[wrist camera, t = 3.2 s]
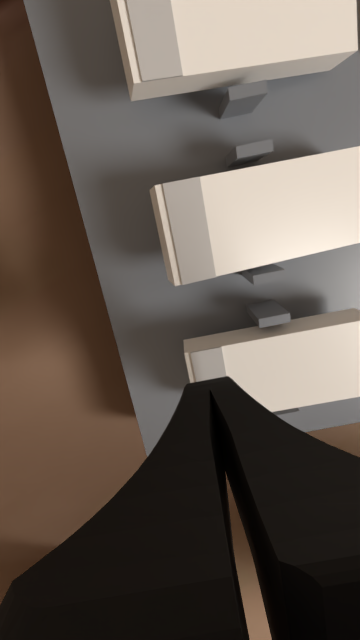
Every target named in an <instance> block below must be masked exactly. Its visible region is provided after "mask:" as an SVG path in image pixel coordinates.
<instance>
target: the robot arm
mask: <svg viewBox="0 0 360 640" xmlns="http://www.w3.org/2000/svg"><path fill="white" fill-rule="evenodd" d="M225 471H226V474H227V477H228V480H229V484H230V487H231V490H232V493H233V496H234V499H235V502H236V505H237V508H238V512H239V515H240V518H241V521H242V524H243V527H244V530H245V533H246V536H247V540H248V543H249V546H250V549H251V553H252V557H253V560H254V564H255V568H256V572H257V576H258V581H259V585H260V589H261V594H262V598H263V602H264V607H265V611H266V615H267V620H268V624H269V628H270V633H271V637H272V640H360V458H359V457H357V456H354V455H352V454H350V453H347V452H345V451H343V450H340V449H338V448H335V447H333V446H331V445H329V444H326V443H324V442H322V441H320V440H318V439H316V438H314V437H312V436H310V435H308V434H307V433H305V432H303V431H301V430H299V429H297V428H295V427H294V426H292V425H290V424H289V423H287V422H285V421H284V420H282V419H281V418H279V417H278V416H276V415H275V414H273V413H272V412H271V411H269V410H268V409H267V408H265V407H264V406H263V405H261V404H260V403H259V402H257V401H256V400H255V399H254V398H252V397H251V396H250V395H249V394H248V393H247V392H245V391H244V390H243V389H242V388H241V387H240V386H239V385H238V384H237V383H236V382H235V381H234V380H233V379H232V378H230V377H229V376H225V377H220V378H214V379H209V380H204V381H199V382H193V383H188V384H186V386H185V387H184V390H183V393H182V396H181V398H180V401H179V403H178V405H177V407H176V410H175V412H174V414H173V416H172V418H171V420H170V422H169V423H168V425H167V427H166V429H165V430H164V432H163V434H162V435H161V437H160V439H159V440H158V442H157V444H156V445H155V447H154V448H153V450H152V451H151V453H150V454H149V456H148V457H147V458H146V460H145V461H144V462H143V464H142V465H141V466H140V468H139V469H138V470H137V471H136V473H135V474H134V475H133V476H132V477H131V478H130V479H129V481H128V482H127V483H126V484H125V485H124V486H123V487H122V488H121V489H120V490H119V491H118V492H117V494H116V495H115V496H114V497H113V498H112V499H111V500H110V501H109V502H108V503H107V504H106V505H105V506H104V507H103V508H102V509H101V510H100V511H98V512H97V513H96V514H95V515H94V516H93V517H92V518H91V519H90V520H89V521H88V522H86V523H85V524H84V525H83V526H82V527H81V528H80V529H79V530H77V531H76V532H75V533H74V534H73V535H71V536H70V537H69V538H68V539H67V540H66V541H64V542H63V543H62V544H60V545H59V546H58V547H57V548H55V549H54V550H53V551H51V552H50V553H49V554H48V555H46V556H45V557H44V558H42V559H41V560H40V561H38V562H37V563H36V564H35V565H33V566H32V567H31V568H29V569H28V570H27V571H26V572H24V573H23V574H21V575H20V576H19V577H17V578H16V579H15V580H13V581H12V583H11V585H10V587H9V589H8V591H7V593H6V595H5V597H4V599H3V601H2V603H1V605H0V640H249V634H248V629H247V624H246V618H245V613H244V608H243V602H242V597H241V592H240V586H239V581H238V576H237V570H236V564H235V557H234V550H233V541H232V532H231V522H230V512H229V503H228V493H227V484H226V474H225Z"/></svg>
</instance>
